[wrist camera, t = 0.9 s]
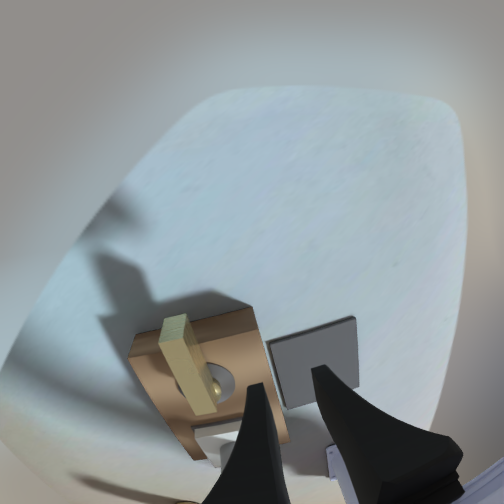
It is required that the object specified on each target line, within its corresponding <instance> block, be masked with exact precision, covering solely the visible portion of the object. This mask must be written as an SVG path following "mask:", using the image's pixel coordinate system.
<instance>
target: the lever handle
mask: <svg viewBox="0 0 504 504" xmlns="http://www.w3.org/2000/svg"><path fill="white" fill-rule="evenodd" d="M158 344H159V346H160V348H161V350H162V352H163V354H164V356H165V358H166V360H167V363H168V365H169V366H170V368H171V370H172V372H173V374H174V376H175V378H176V380H177V382H178V384H179V386H180V388H181V390H182V391H183V393H184V395H185V397H186V399H187V401H188V402H189V404H190V406H191V408H192V410H193V411H194V413H195V415H196V416H198V415H204V414H209V413H214V412H217V401H219V400H220V398H221V385H220V383H219V381H218V380H216V379H215V378H213V377H212V375H211V372H210V370H209V368H208V365H207V363H206V361H205V358H204V356H203V354H202V351H201V349H200V346H199V344H198V341H197V339H196V337H195V334H194V332H193V329H192V327H191V324H190V321H189V319H188V316H187V314H186V313H185V314H181V315H177V316H173V317H168V318H164V322H163V326H162V330H161V334H160V338H159V342H158Z"/></svg>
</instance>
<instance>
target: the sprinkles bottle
mask: <svg viewBox="0 0 504 504" xmlns="http://www.w3.org/2000/svg"><path fill="white" fill-rule="evenodd" d="M177 504H197V503H192V502H180V503H177Z"/></svg>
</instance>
